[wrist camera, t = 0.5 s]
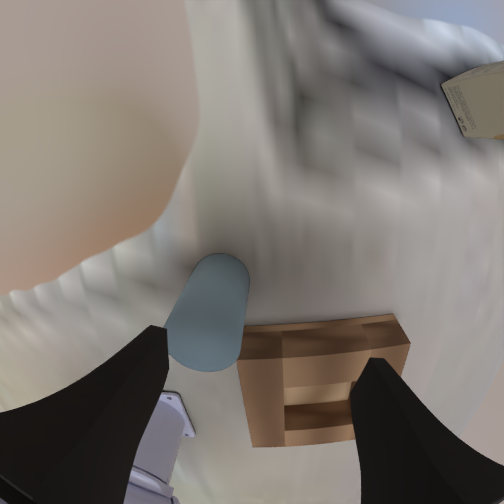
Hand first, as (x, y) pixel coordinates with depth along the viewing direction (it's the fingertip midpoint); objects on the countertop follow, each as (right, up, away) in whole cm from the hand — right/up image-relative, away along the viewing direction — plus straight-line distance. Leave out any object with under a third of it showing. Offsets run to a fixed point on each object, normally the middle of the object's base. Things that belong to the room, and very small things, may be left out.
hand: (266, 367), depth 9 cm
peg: (-3, +2, +11) cm, 11 cm away
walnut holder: (+5, -7, +14) cm, 16 cm away
